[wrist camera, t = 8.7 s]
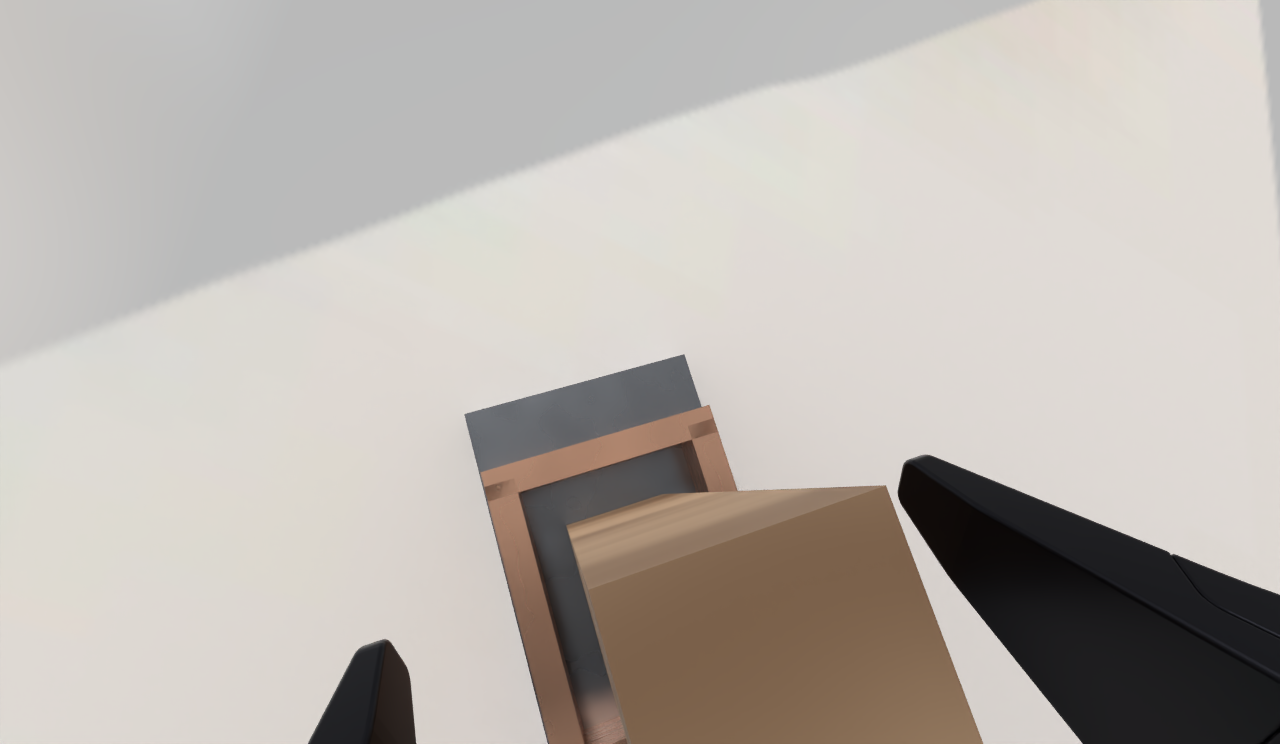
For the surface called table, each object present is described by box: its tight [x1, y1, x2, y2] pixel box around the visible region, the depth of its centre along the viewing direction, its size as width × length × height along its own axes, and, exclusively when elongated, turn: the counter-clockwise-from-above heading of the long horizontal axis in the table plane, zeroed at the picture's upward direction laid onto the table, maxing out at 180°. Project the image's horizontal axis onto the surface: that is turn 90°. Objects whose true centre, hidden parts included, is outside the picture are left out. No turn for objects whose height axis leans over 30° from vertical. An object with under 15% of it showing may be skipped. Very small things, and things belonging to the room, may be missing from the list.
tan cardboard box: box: [566, 485, 983, 744], centre depth 11 cm, size 5×3×12 cm, turn 17°
